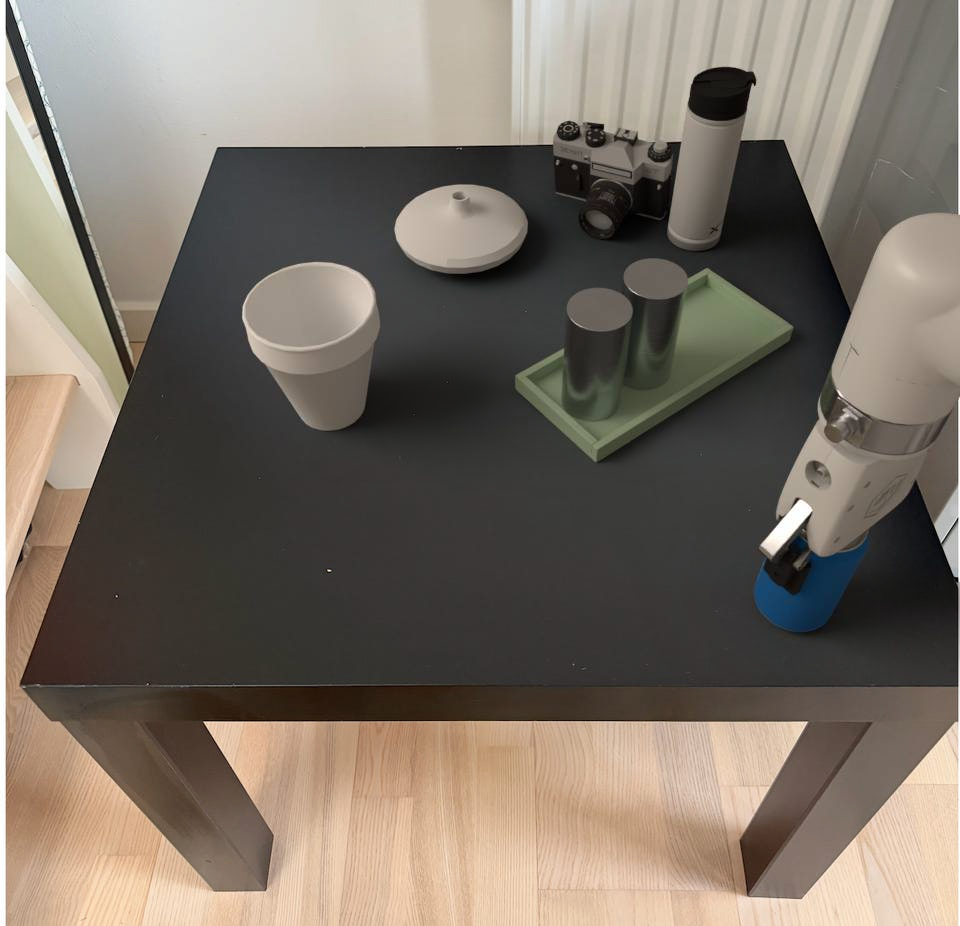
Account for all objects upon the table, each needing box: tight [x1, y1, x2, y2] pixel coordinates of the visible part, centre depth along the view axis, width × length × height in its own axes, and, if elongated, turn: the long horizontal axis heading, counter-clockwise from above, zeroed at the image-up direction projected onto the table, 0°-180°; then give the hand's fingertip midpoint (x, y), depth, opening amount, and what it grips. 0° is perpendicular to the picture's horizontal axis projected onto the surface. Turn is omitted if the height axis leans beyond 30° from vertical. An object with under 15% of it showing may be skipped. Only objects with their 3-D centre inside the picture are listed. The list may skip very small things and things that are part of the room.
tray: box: [514, 267, 795, 464], centre depth 95 cm, size 13×28×2 cm, turn 127°
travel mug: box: [666, 66, 757, 252], centre depth 101 cm, size 6×7×20 cm
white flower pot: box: [241, 261, 381, 432], centre depth 88 cm, size 12×12×14 cm
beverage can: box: [753, 521, 870, 633], centre depth 72 cm, size 6×6×12 cm
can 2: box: [620, 257, 689, 390], centre depth 90 cm, size 6×6×12 cm
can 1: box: [561, 287, 633, 421], centre depth 87 cm, size 6×6×12 cm
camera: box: [552, 120, 674, 240], centre depth 109 cm, size 15×11×10 cm
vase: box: [393, 184, 529, 275], centre depth 106 cm, size 16×16×7 cm
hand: (812, 556), depth 71 cm, fingers closed on beverage can, 6 cm apart
